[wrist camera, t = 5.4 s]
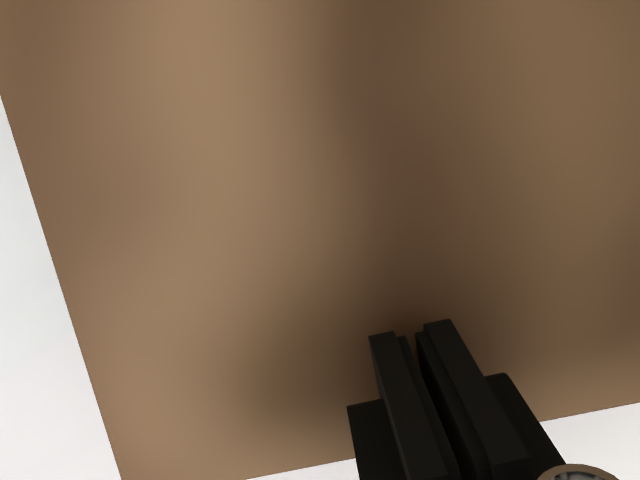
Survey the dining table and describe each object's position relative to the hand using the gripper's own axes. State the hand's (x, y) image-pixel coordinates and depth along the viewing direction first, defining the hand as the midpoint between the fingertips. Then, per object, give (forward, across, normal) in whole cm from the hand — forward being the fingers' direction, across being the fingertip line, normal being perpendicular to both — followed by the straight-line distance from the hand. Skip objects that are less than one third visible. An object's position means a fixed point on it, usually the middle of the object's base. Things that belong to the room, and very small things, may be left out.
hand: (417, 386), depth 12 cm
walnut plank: (+3, -1, -4) cm, 5 cm away
